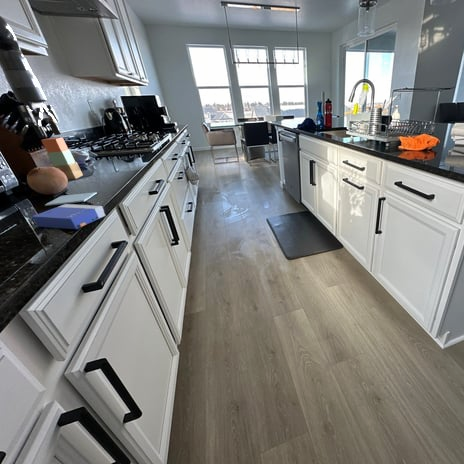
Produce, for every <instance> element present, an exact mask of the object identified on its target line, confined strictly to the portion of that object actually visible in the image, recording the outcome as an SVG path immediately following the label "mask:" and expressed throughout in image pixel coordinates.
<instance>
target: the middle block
mask: <svg viewBox="0 0 464 464" xmlns="http://www.w3.org/2000/svg"><path fill="white" fill-rule="evenodd" d="M46 155H47V156H48V158H49V160H50V163H51V164H52V166H61V165H69V164H72V163H75V162H76V160H75V158H74V156H73V154H72V152H71V149H68V150H65V151H62V152H50V153H48V152H46Z"/></svg>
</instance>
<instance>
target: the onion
mask: <svg viewBox="0 0 464 464" xmlns="http://www.w3.org/2000/svg"><path fill="white" fill-rule="evenodd" d="M68 181H69V180H68V179H67V177H66V175H65V174H64V173H63V172H62V171H61V170H59V169H58V168H54V167H52V166H41V167H40V166H39V167H34V168H32V169H31V170H29V172H28V173H27V175H26V182H27V184H28V186H29V188H31V190H33V191H35V192H37V193H39V194H42V195H46V196H50V195H51V196H52V195H57V194H59V193H62V192H64V191H65V190H66V189H67V186H68Z"/></svg>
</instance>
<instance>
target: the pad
mask: <svg viewBox="0 0 464 464" xmlns="http://www.w3.org/2000/svg"><path fill="white" fill-rule="evenodd" d="M97 193H98V192H97V191H94V192H85V193H75V194H67V195H60V196H58V197H57V198H55V199H53V200H51V201H49V202H47V203H46V204H44V207H49V206H57V205H65V204H75V203H84V202H86V201H88V200H89V199H90V198H93V197H94V196H95V195H97Z"/></svg>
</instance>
